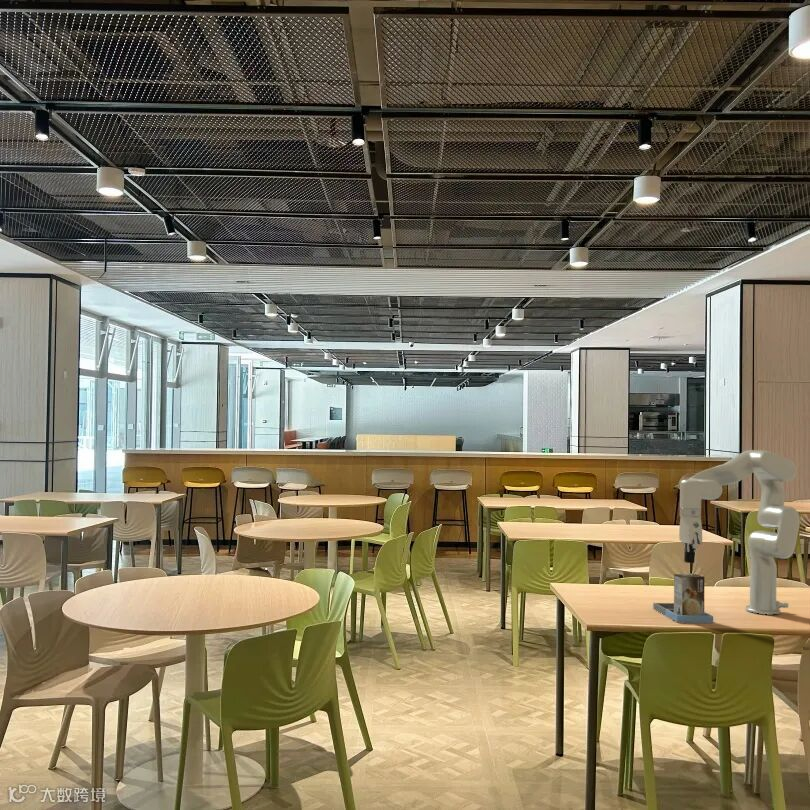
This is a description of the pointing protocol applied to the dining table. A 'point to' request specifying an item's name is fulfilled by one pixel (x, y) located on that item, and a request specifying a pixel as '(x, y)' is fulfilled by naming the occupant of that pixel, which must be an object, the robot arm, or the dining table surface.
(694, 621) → the bay tray
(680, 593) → the coffee box
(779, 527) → the robot arm
